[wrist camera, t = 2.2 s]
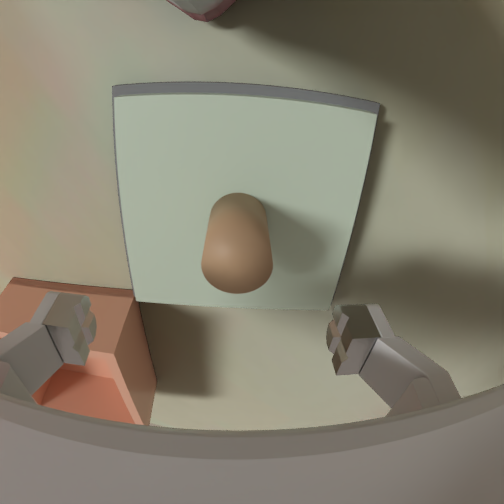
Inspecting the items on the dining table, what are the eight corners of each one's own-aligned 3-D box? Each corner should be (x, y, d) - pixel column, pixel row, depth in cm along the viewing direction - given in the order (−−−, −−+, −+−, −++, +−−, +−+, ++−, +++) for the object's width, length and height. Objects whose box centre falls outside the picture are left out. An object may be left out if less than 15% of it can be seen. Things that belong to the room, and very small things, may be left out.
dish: (136, 290, 20) (113, 353, 16) (157, 381, 26) (147, 433, 22) (13, 277, 20) (-21, 325, 15) (54, 364, 26) (37, 408, 21)
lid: (369, 111, 14) (418, 135, 10) (325, 299, 20) (342, 360, 16) (121, 95, 13) (72, 112, 9) (140, 290, 19) (119, 350, 15)
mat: (375, 101, 14) (380, 103, 13) (329, 299, 21) (331, 305, 21) (116, 84, 13) (112, 86, 13) (136, 290, 20) (133, 296, 20)
